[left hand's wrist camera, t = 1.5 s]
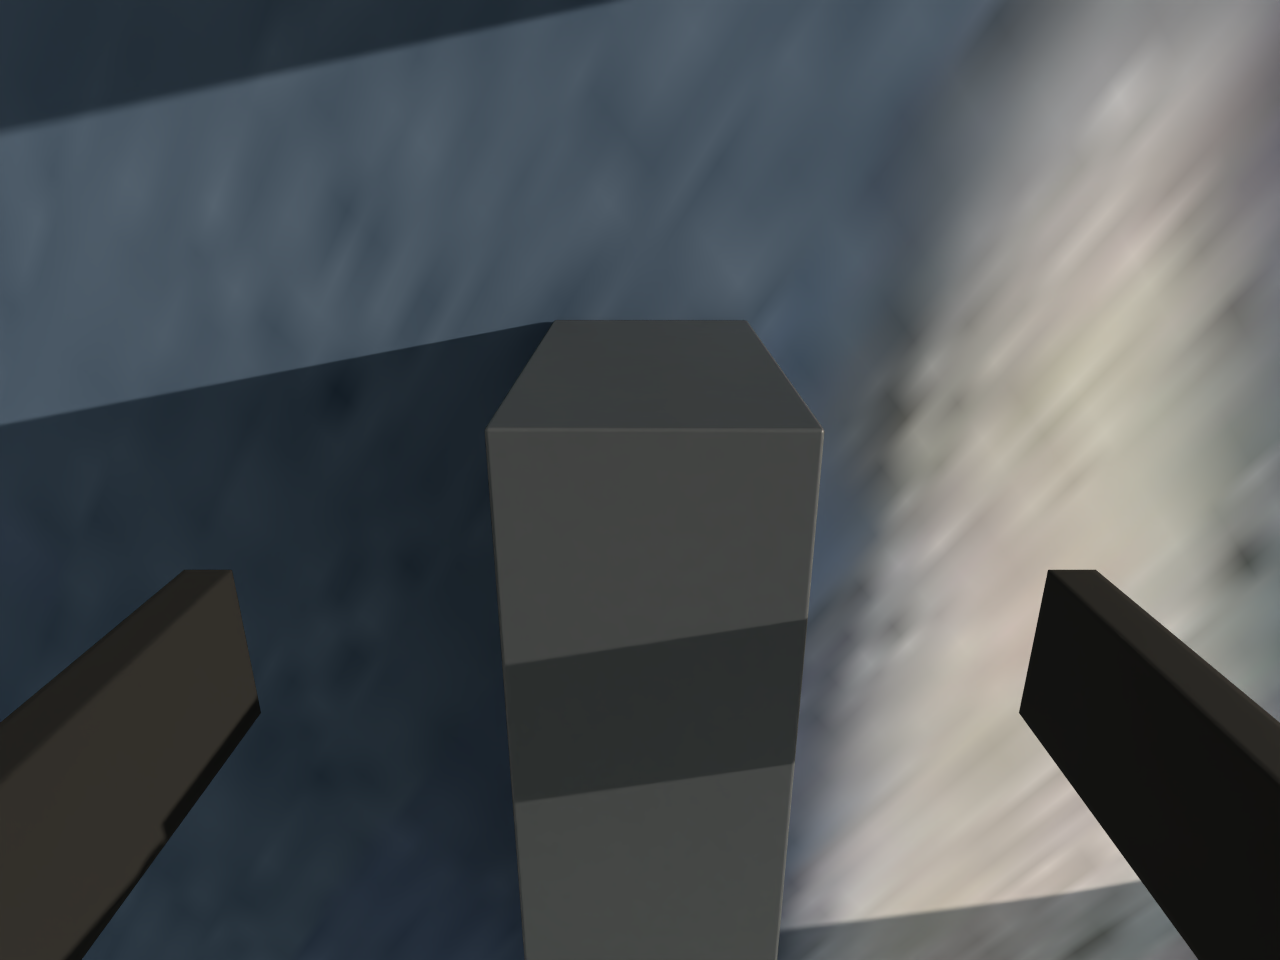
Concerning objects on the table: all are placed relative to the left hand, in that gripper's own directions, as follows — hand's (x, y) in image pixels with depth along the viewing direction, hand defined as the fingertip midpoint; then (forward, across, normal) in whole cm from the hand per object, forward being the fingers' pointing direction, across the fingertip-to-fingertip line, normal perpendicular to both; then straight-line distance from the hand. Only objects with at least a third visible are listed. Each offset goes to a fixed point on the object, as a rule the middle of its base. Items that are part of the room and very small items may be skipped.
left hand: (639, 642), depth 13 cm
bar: (+9, 0, -8) cm, 12 cm away
